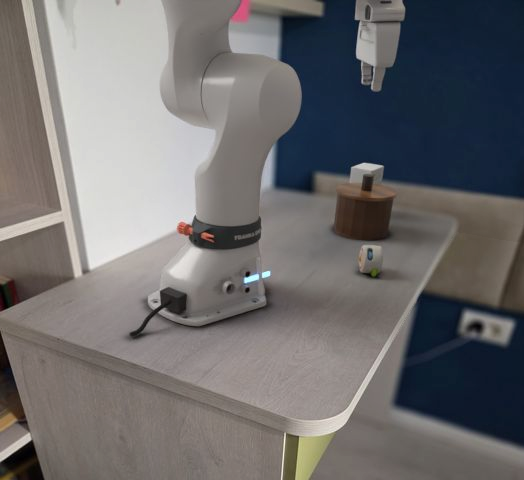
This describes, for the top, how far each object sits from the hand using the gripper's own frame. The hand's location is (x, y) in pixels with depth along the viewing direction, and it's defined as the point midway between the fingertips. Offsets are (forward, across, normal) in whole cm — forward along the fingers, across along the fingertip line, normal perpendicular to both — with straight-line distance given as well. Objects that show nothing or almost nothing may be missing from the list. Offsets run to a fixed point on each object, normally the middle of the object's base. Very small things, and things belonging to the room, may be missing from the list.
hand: (370, 87), depth 106 cm
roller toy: (+32, +24, -2) cm, 40 cm away
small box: (+34, -18, +5) cm, 39 cm away
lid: (+24, -4, +2) cm, 24 cm away
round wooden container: (+33, -3, +2) cm, 34 cm away
